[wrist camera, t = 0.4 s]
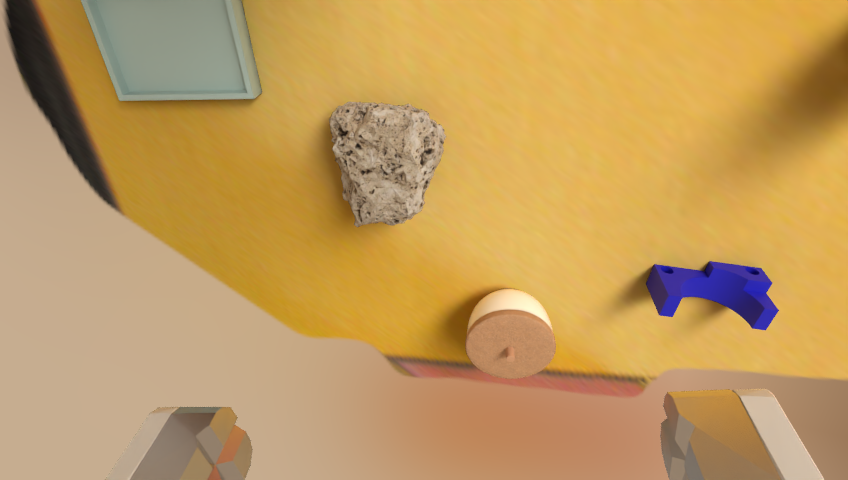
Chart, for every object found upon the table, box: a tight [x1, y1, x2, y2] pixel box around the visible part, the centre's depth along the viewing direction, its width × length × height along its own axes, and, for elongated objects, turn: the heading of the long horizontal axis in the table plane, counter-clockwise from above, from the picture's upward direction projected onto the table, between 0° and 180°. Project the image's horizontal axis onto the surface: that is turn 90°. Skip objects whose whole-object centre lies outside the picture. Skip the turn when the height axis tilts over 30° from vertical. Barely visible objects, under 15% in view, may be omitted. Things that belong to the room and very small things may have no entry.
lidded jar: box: [466, 289, 556, 379], centre depth 62 cm, size 11×11×9 cm
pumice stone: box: [329, 102, 446, 227], centre depth 52 cm, size 14×12×8 cm
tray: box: [81, 0, 262, 101], centre depth 50 cm, size 11×15×2 cm
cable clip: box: [646, 261, 779, 330], centre depth 58 cm, size 12×4×6 cm, turn 85°
